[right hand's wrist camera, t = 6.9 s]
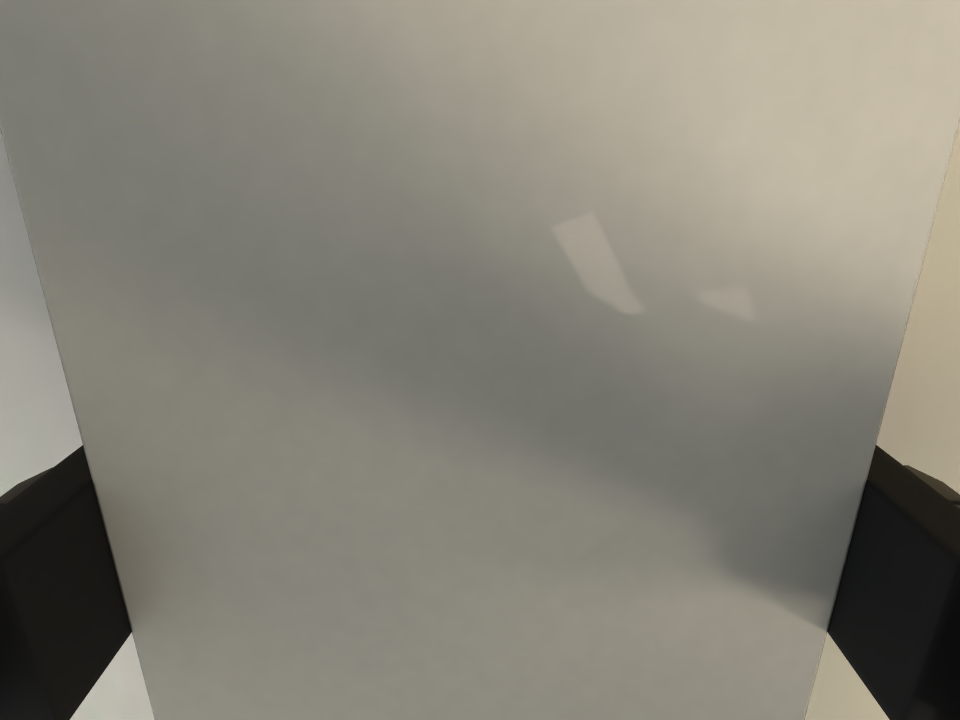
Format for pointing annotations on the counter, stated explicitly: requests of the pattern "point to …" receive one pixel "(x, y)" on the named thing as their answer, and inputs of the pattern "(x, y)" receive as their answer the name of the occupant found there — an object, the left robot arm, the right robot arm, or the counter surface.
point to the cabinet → (479, 335)
